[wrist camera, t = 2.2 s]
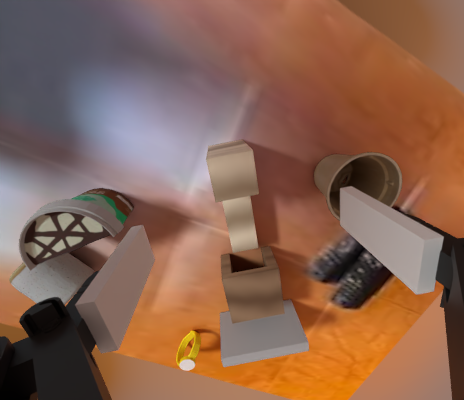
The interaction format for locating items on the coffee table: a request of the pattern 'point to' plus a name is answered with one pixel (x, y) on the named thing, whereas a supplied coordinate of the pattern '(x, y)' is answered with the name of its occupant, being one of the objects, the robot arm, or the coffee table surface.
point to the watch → (189, 360)
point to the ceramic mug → (52, 278)
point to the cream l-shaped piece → (235, 189)
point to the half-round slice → (72, 224)
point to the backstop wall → (261, 337)
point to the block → (253, 289)
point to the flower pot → (358, 177)
